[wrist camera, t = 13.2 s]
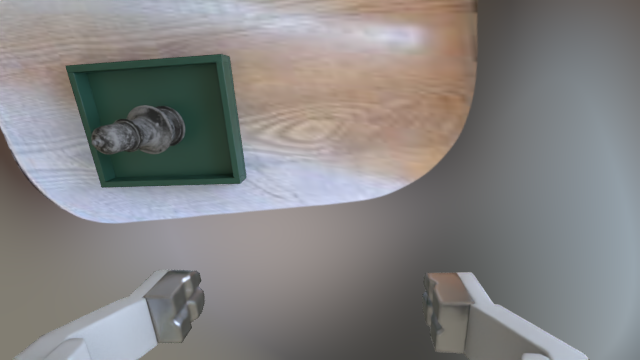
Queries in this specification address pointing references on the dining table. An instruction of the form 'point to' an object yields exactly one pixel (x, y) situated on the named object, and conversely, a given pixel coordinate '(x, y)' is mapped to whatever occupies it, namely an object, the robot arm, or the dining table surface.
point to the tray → (177, 93)
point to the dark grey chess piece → (141, 131)
